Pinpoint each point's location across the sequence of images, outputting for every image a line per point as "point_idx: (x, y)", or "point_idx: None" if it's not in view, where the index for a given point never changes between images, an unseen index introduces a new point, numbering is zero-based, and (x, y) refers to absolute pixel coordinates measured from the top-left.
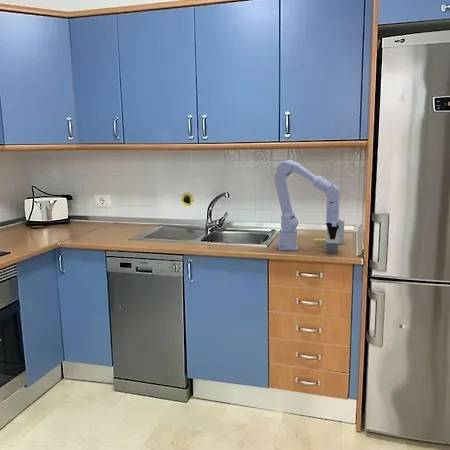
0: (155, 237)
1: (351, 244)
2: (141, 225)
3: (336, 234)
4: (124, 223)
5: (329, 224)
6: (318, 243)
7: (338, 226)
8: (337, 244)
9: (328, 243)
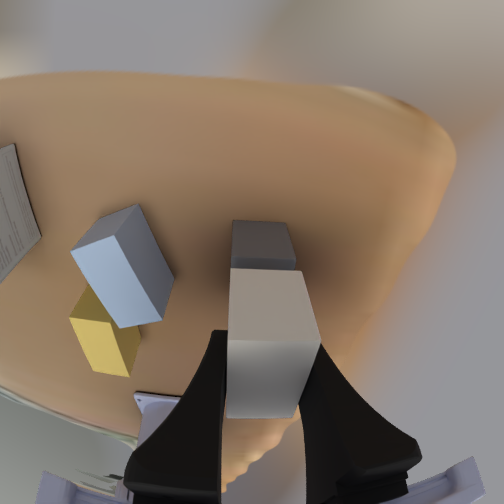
0: None
1: (16, 84)
2: None
3: (310, 359)
4: None
5: (220, 497)
6: (128, 340)
7: (420, 453)
8: (267, 259)
9: (159, 300)
